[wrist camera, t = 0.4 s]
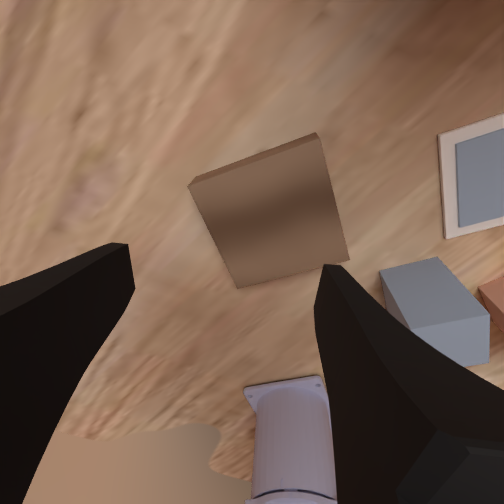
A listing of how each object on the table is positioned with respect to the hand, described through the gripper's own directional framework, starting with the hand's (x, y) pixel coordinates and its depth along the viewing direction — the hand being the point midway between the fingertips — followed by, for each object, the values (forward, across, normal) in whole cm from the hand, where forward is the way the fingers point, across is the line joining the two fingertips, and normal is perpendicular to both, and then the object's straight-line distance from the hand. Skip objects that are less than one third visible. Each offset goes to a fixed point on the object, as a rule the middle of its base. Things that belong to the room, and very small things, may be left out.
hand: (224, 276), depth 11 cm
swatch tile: (+10, -15, -3) cm, 18 cm away
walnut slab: (+10, -2, +1) cm, 11 cm away
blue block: (+10, -13, +6) cm, 17 cm away
